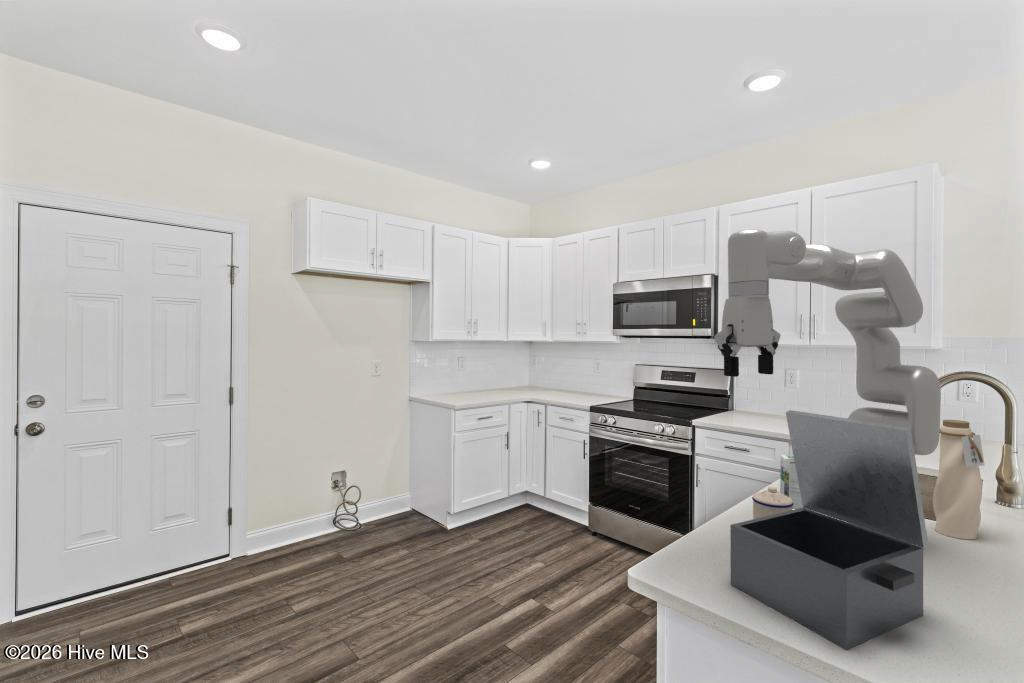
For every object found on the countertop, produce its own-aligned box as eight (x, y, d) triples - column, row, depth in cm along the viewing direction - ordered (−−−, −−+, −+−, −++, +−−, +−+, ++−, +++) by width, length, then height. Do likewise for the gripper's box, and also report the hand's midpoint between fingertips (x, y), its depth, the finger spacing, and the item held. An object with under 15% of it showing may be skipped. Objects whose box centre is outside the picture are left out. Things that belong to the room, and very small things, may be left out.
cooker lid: (802, 507, 104) (815, 499, 106) (923, 547, 84) (936, 536, 86) (785, 412, 102) (799, 405, 104) (905, 430, 82) (919, 421, 84)
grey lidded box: (792, 557, 107) (792, 504, 107) (939, 622, 82) (940, 553, 82) (720, 579, 98) (720, 520, 97) (863, 659, 73) (863, 581, 73)
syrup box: (779, 502, 142) (779, 454, 141) (801, 504, 140) (801, 455, 140) (784, 509, 136) (784, 458, 136) (808, 511, 134) (808, 460, 134)
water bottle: (997, 540, 115) (997, 424, 115) (971, 545, 112) (972, 426, 112) (947, 524, 125) (948, 417, 125) (923, 528, 122) (923, 419, 122)
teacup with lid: (779, 545, 113) (779, 496, 113) (744, 531, 121) (744, 485, 121) (808, 534, 119) (808, 487, 119) (772, 522, 127) (772, 478, 127)
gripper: (762, 294, 105) (762, 372, 105) (702, 292, 98) (702, 375, 99) (794, 291, 98) (794, 374, 98) (731, 289, 91) (732, 378, 92)
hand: (748, 375), depth 99 cm, fingers open, 9 cm apart
